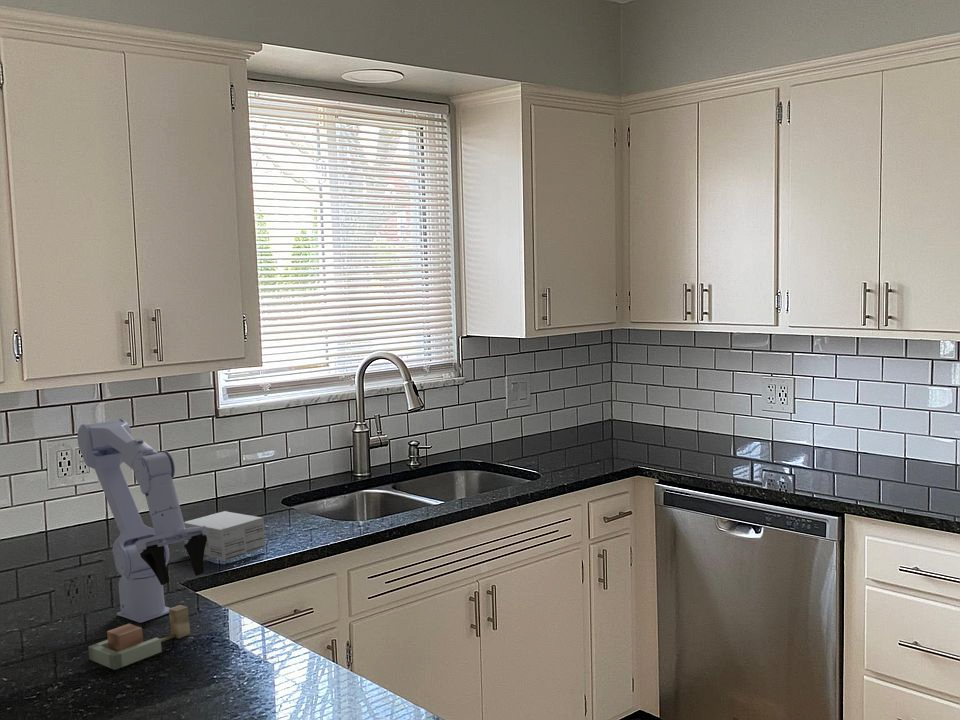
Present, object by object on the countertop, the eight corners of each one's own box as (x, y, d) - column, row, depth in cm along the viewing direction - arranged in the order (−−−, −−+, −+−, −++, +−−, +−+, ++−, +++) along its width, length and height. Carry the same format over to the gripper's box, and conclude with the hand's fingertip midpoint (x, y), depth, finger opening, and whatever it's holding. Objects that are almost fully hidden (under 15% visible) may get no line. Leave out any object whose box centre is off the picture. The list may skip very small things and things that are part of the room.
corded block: (109, 657, 175) (106, 628, 175) (180, 630, 187) (177, 603, 186) (122, 662, 172) (119, 633, 172) (193, 635, 184) (190, 607, 184)
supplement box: (267, 552, 239) (264, 517, 239) (224, 566, 229) (220, 529, 229) (228, 543, 250) (225, 509, 249) (185, 557, 240) (181, 521, 239)
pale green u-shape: (89, 659, 175) (88, 646, 174) (136, 642, 182) (134, 629, 182) (114, 669, 169) (113, 656, 169) (161, 651, 176) (160, 638, 176)
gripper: (141, 513, 177) (159, 583, 175) (207, 500, 189) (225, 566, 186) (124, 523, 182) (141, 591, 179) (189, 509, 193) (206, 574, 190)
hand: (182, 579), depth 183 cm, fingers open, 7 cm apart
